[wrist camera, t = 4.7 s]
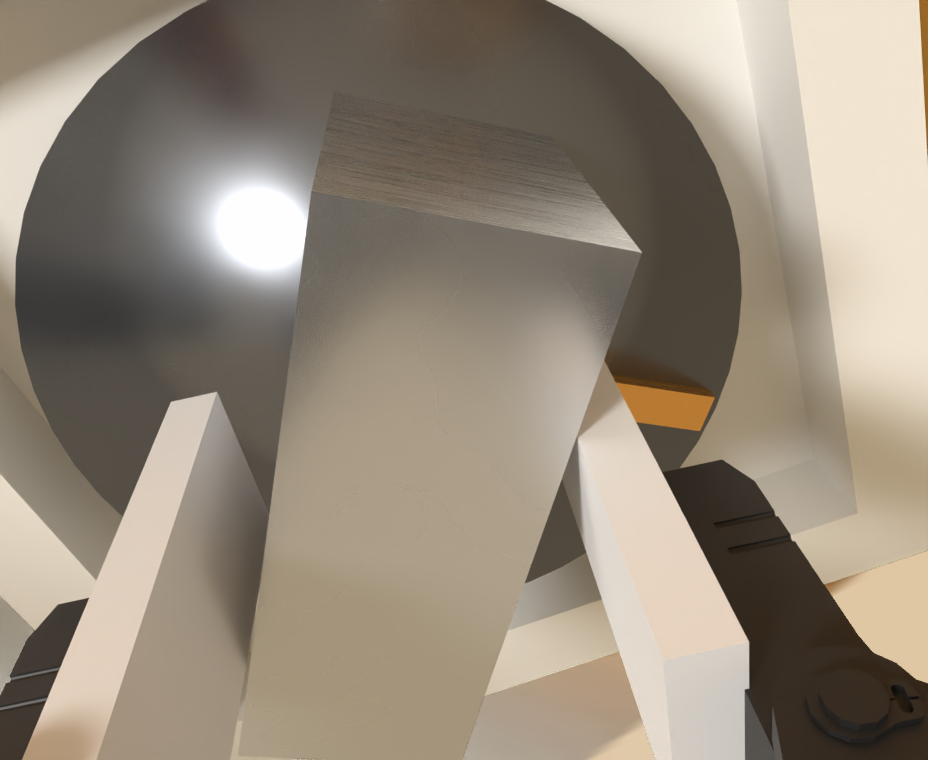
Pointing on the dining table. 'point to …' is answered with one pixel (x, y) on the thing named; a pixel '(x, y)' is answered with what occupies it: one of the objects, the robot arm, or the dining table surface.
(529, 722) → the dining table surface
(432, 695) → the dial
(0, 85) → the dial housing
